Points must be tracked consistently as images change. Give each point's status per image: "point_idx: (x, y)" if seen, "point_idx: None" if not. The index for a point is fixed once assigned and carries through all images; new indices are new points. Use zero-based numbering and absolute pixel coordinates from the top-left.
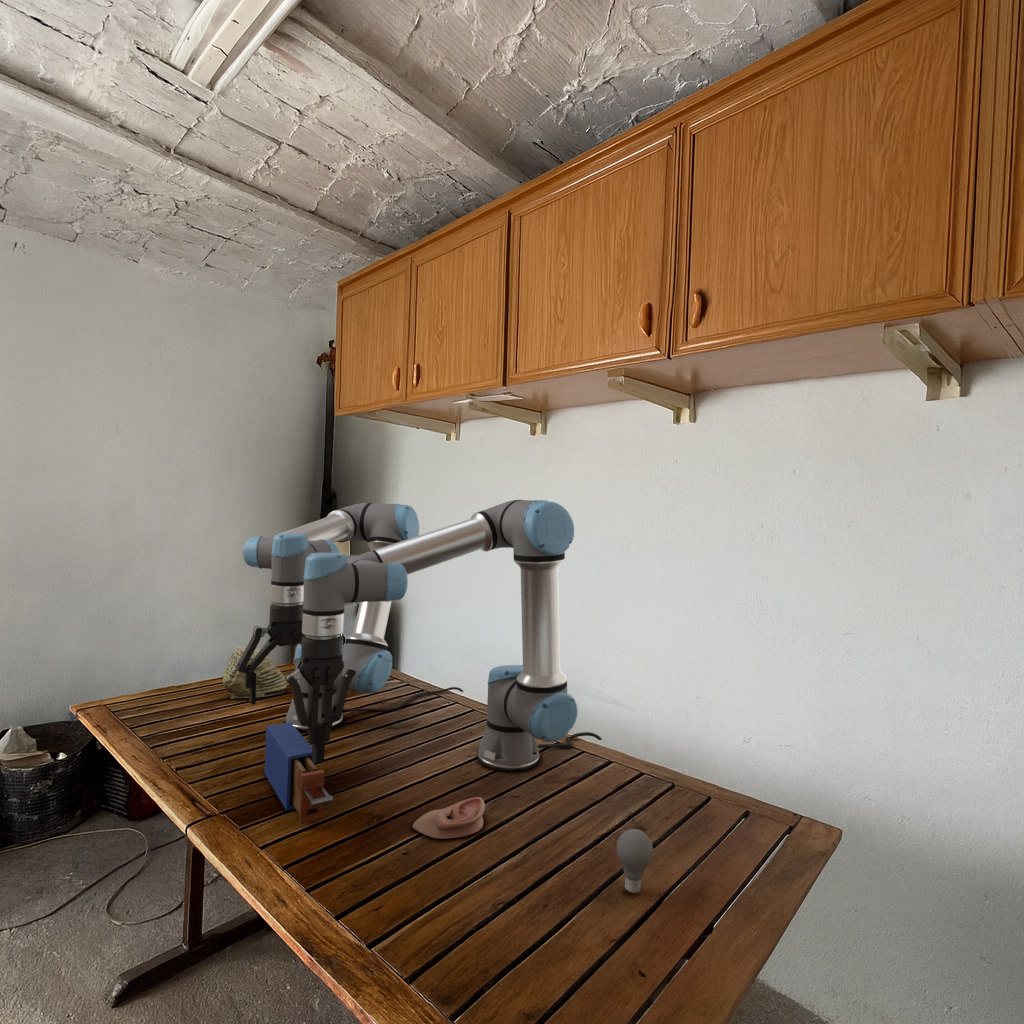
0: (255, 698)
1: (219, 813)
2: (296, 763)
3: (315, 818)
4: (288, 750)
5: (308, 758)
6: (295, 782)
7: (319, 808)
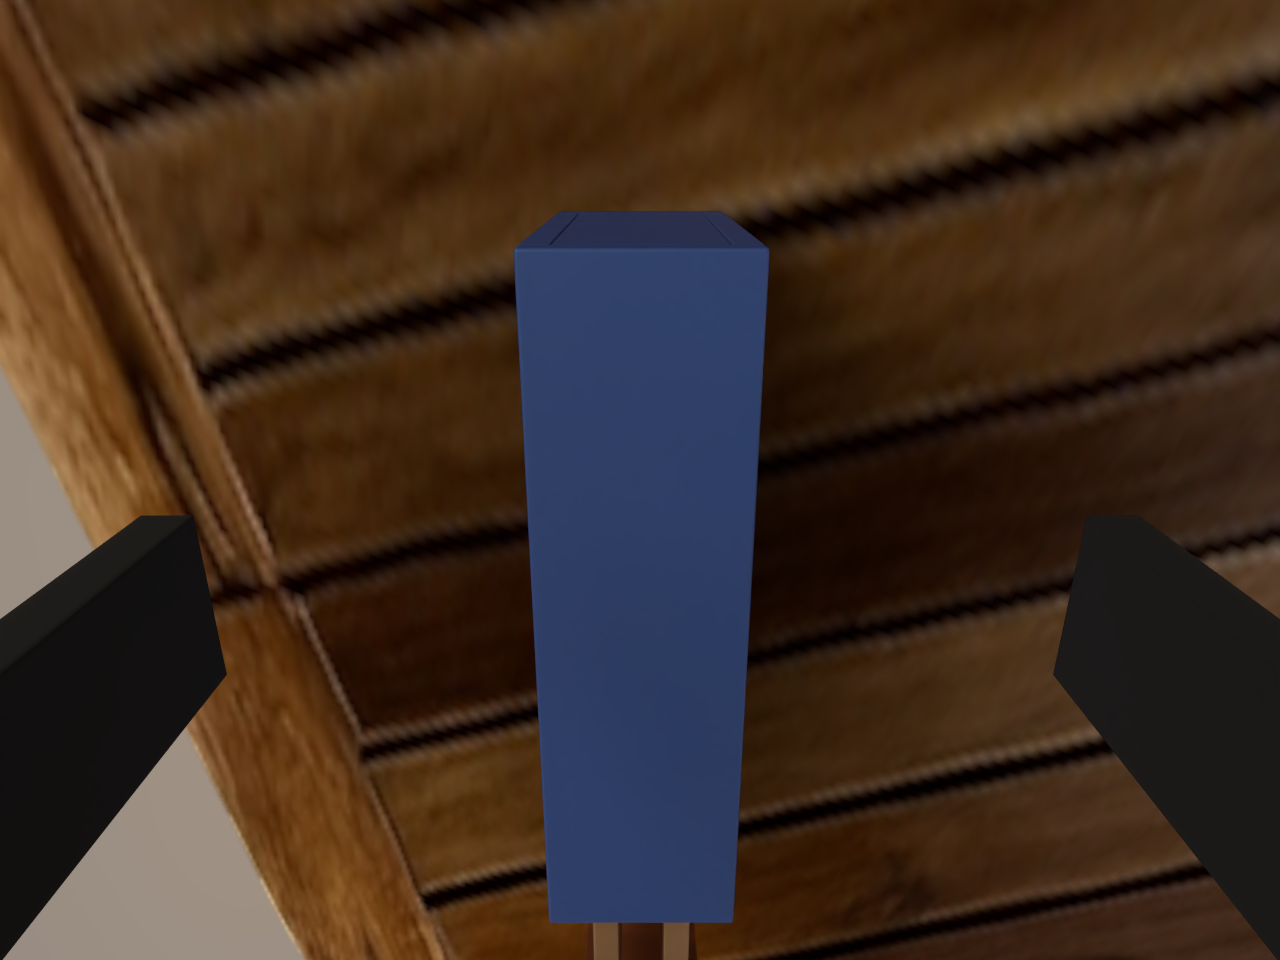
0: (185, 724)
1: (277, 585)
2: (593, 931)
3: None
4: (573, 842)
5: None
6: None
7: None
